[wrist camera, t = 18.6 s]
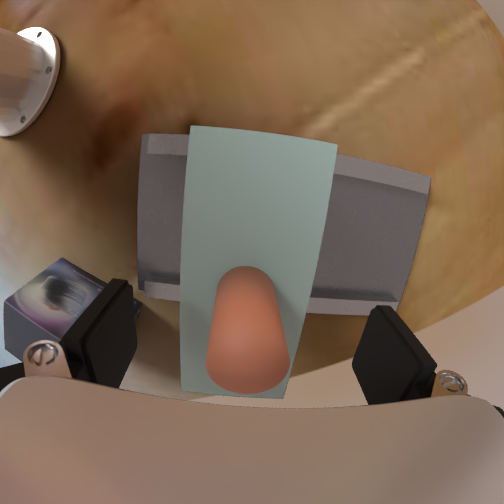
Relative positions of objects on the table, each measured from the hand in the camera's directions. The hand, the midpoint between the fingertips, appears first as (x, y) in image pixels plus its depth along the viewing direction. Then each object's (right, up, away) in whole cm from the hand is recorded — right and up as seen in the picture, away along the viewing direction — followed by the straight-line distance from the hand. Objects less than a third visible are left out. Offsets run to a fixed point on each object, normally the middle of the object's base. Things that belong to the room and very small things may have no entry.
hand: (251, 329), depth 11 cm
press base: (+3, +5, +15) cm, 16 cm away
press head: (-1, +5, +12) cm, 13 cm away
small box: (-17, -2, +17) cm, 24 cm away
